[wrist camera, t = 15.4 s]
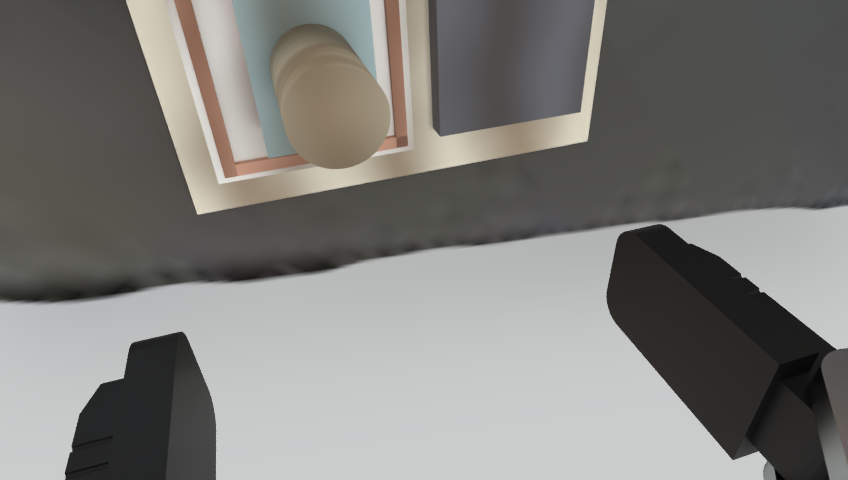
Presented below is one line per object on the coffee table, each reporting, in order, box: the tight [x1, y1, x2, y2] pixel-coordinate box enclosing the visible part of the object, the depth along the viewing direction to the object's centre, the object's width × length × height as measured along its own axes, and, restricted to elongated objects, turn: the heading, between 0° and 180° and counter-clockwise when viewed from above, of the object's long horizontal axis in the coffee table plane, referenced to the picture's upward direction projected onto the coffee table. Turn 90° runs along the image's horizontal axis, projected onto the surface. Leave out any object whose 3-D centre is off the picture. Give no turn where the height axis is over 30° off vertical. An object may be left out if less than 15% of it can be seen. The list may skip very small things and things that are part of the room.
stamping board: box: [126, 0, 607, 215], centre depth 26 cm, size 22×15×2 cm
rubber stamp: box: [232, 0, 391, 169], centre depth 21 cm, size 5×7×9 cm
